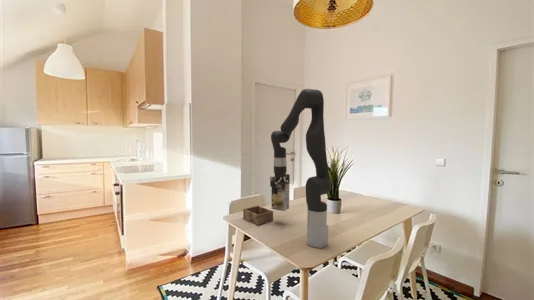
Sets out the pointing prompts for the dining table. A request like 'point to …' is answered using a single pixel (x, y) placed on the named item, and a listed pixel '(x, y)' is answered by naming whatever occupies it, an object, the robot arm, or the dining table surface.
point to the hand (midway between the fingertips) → (280, 192)
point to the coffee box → (281, 197)
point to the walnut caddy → (258, 215)
